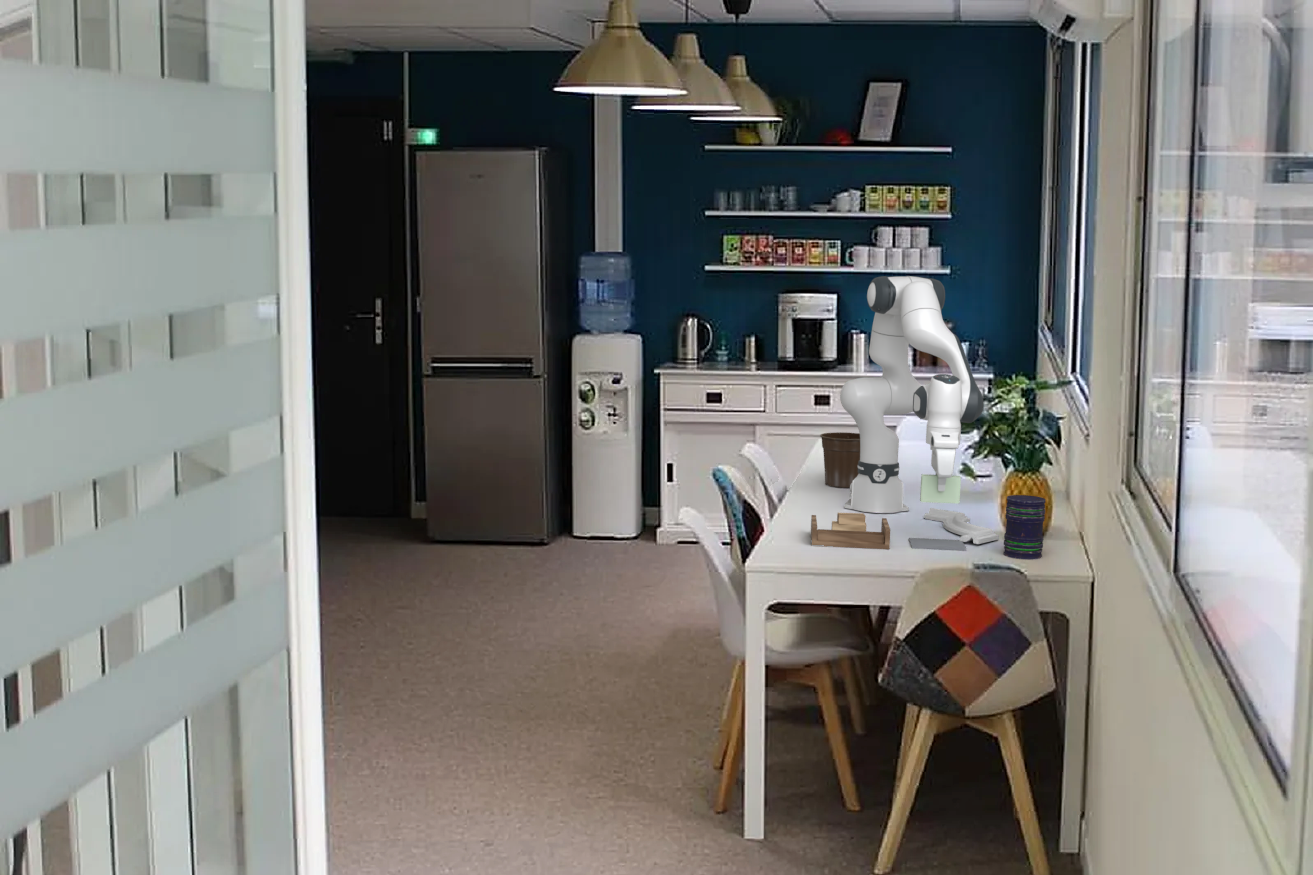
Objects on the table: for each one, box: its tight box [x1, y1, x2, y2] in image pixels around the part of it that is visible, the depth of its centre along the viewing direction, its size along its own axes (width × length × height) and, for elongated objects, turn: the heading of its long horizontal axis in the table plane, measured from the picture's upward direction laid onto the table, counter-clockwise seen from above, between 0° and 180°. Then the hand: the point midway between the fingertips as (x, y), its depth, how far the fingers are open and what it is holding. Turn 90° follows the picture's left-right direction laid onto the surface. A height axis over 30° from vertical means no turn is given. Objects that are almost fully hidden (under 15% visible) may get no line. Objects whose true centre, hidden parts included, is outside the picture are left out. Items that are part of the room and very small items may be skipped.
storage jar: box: [1003, 494, 1046, 561], centre depth 416 cm, size 10×10×15 cm
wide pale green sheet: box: [919, 473, 962, 505], centre depth 425 cm, size 2×10×7 cm, turn 86°
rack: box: [810, 514, 891, 550], centre depth 428 cm, size 16×20×5 cm
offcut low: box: [831, 520, 868, 531], centre depth 433 cm, size 4×9×3 cm, turn 86°
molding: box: [923, 507, 1000, 545], centre depth 448 cm, size 42×12×3 cm, turn 6°
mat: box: [908, 537, 967, 551], centre depth 427 cm, size 11×14×1 cm
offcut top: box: [836, 512, 867, 525], centre depth 432 cm, size 4×7×2 cm, turn 90°
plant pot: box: [819, 431, 860, 489], centre depth 518 cm, size 16×16×16 cm
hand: (940, 489), depth 425 cm, fingers closed on wide pale green sheet, 2 cm apart
